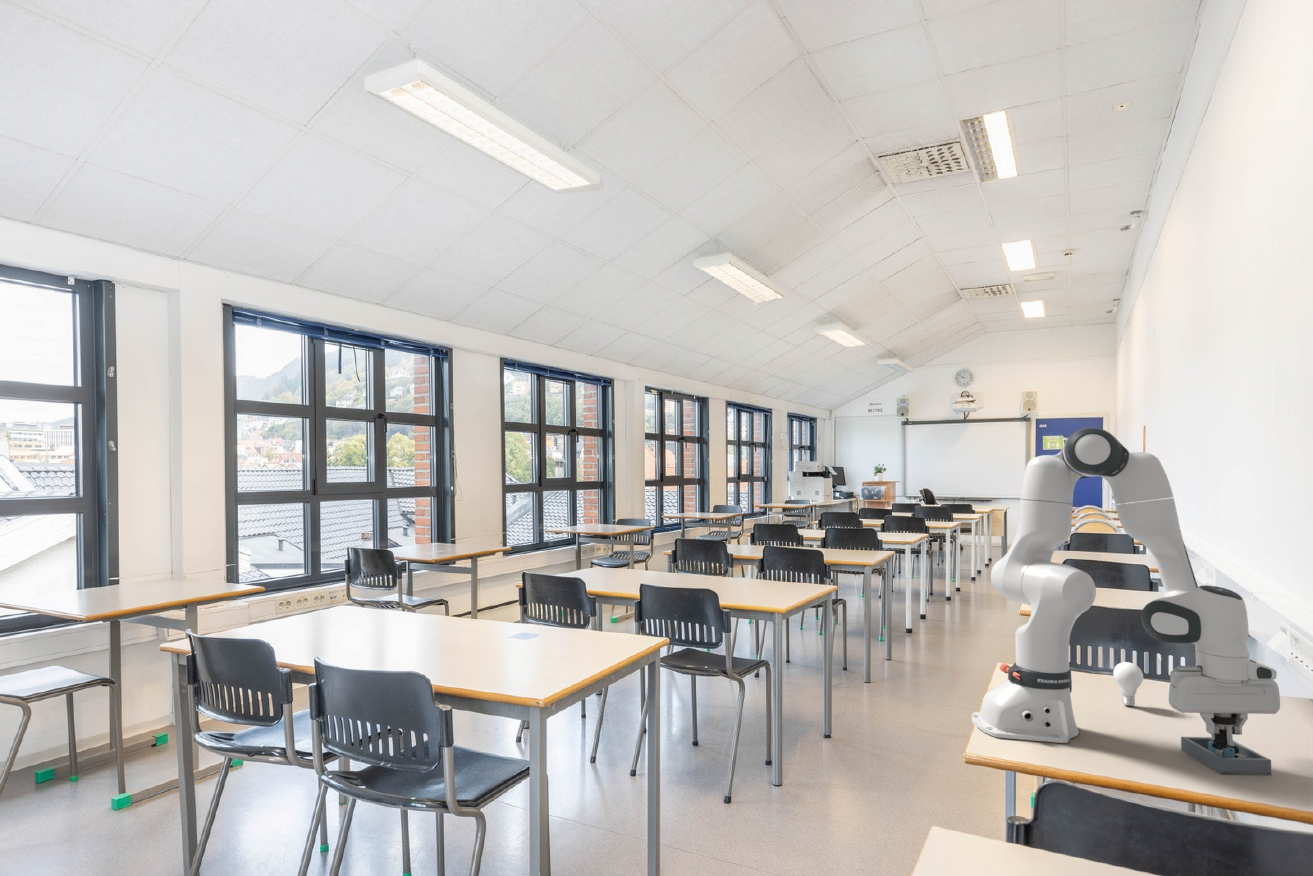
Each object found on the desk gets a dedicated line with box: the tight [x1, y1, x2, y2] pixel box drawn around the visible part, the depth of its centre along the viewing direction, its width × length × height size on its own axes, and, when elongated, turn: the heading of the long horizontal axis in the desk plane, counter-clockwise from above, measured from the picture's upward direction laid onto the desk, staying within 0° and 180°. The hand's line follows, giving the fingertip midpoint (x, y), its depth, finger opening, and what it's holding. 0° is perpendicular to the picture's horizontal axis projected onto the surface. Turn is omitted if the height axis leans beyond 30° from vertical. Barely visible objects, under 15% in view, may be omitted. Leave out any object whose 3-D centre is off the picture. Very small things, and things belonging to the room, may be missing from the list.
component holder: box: [1180, 736, 1272, 776], centre depth 148 cm, size 10×12×3 cm
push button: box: [1208, 713, 1246, 758], centre depth 148 cm, size 7×5×10 cm
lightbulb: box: [1112, 661, 1144, 708], centre depth 182 cm, size 6×6×11 cm
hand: (1224, 733), depth 148 cm, fingers closed on push button, 3 cm apart
